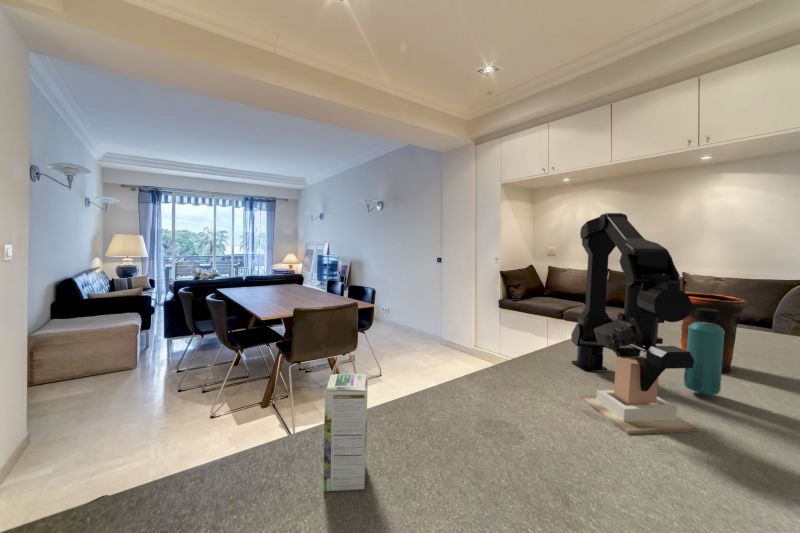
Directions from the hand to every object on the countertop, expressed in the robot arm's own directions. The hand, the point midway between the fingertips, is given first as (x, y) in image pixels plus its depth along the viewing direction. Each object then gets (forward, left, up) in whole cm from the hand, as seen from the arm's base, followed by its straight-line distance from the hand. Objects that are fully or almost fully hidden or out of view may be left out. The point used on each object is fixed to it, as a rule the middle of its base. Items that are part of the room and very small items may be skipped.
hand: (635, 386), depth 70 cm
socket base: (0, 0, -6) cm, 6 cm away
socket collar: (0, 0, -6) cm, 6 cm away
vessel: (-25, +42, -6) cm, 49 cm away
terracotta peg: (0, 0, -2) cm, 3 cm away
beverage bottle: (-7, +22, -6) cm, 24 cm away
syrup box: (+15, -57, -6) cm, 59 cm away
